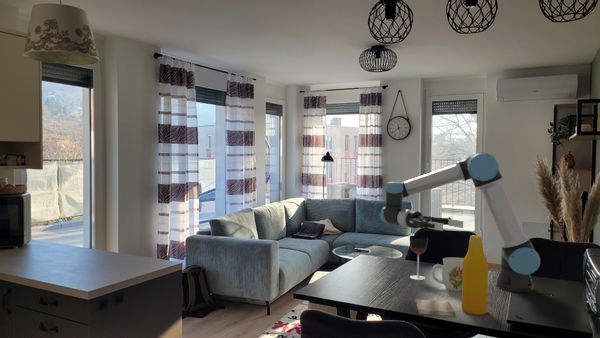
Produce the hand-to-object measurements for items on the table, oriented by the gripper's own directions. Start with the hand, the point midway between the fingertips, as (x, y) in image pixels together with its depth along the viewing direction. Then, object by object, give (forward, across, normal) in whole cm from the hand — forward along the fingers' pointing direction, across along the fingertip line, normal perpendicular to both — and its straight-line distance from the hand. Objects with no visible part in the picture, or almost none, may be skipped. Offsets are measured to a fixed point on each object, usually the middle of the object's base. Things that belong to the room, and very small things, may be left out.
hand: (452, 225), depth 173 cm
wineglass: (-32, -20, -32) cm, 49 cm away
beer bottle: (+10, 0, -32) cm, 33 cm away
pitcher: (-11, -17, -32) cm, 38 cm away
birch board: (0, +11, -32) cm, 33 cm away
